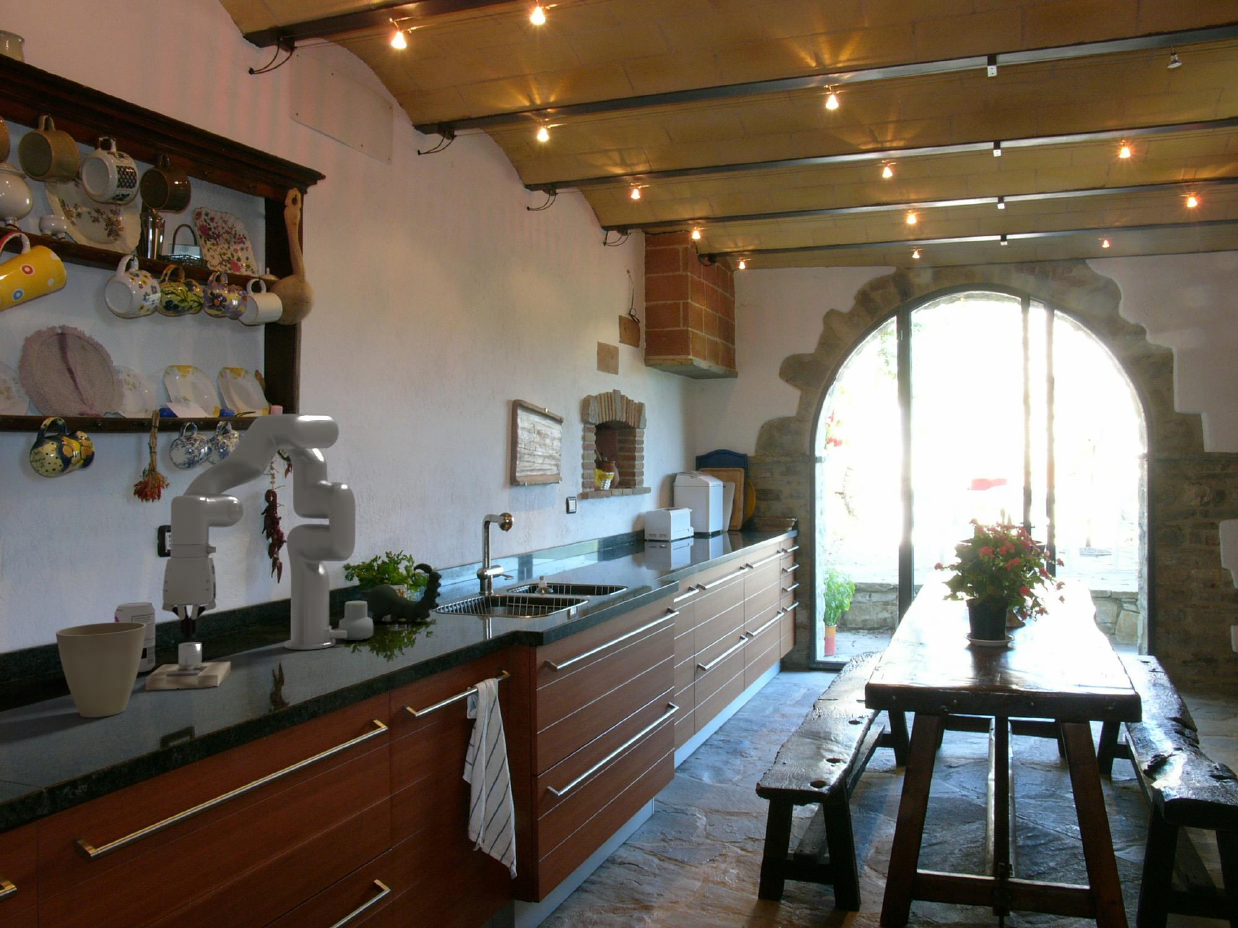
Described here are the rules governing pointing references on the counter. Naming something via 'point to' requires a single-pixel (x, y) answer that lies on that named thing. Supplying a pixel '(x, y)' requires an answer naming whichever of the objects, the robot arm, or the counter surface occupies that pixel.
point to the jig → (188, 676)
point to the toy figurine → (403, 600)
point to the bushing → (190, 656)
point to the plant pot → (101, 664)
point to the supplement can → (145, 615)
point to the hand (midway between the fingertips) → (189, 637)
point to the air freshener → (356, 621)
